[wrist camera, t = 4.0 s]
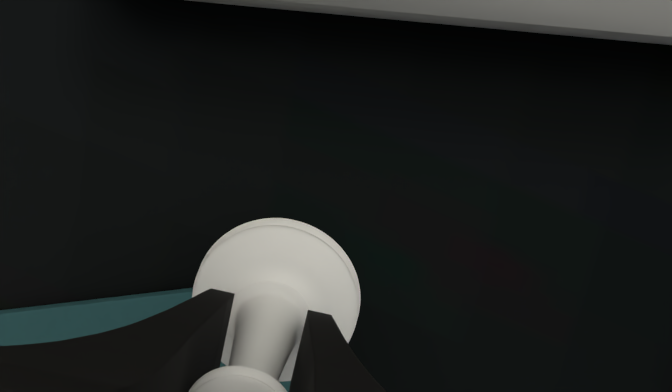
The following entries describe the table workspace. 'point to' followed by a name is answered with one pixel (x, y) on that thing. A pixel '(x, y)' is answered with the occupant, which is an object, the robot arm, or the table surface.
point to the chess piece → (274, 299)
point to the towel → (86, 317)
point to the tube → (508, 15)
